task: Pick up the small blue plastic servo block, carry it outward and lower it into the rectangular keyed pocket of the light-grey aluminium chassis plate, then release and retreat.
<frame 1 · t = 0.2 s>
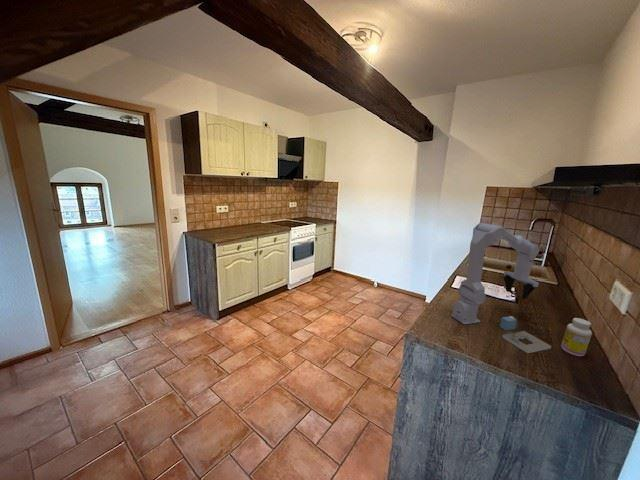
hand: (516, 294, 121), 10 cm above the countertop, fingers open, 7 cm apart
servo block: (507, 327, 111), on the countertop
chassis plate: (525, 342, 101), on the countertop
supplement bottle: (572, 351, 97), on the countertop
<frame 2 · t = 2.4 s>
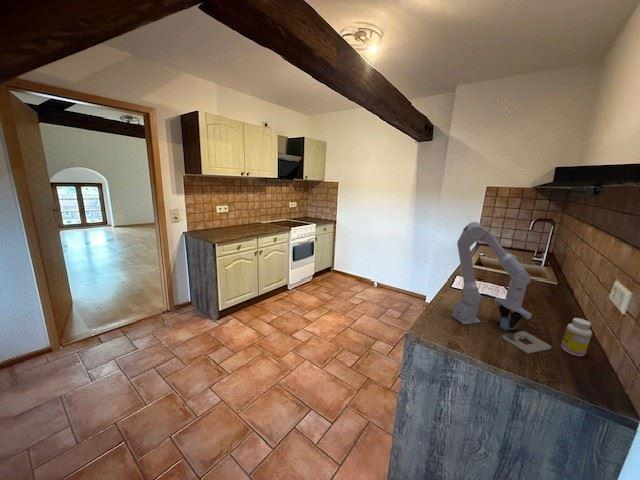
hand: (507, 324, 111), 1 cm above the countertop, fingers closed on servo block, 3 cm apart
servo block: (507, 327, 111), on the countertop, touching gripper
everything else where it was.
when the fingers open (3 cm above the countertop, at t = 5.3 s): servo block stays where it is, resting in chassis plate.
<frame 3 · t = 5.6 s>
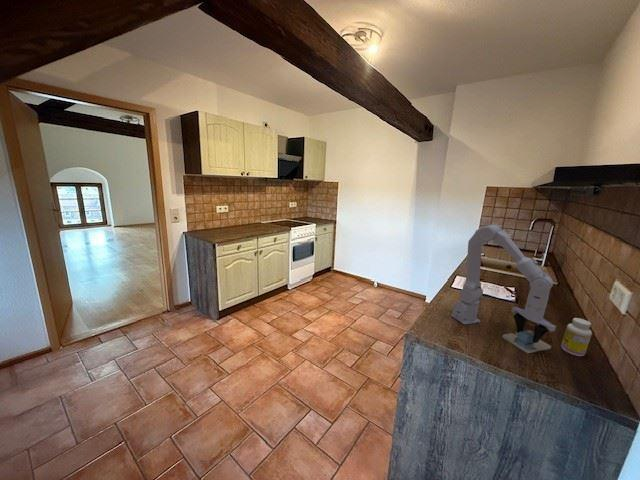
hand: (527, 337, 100), 3 cm above the countertop, fingers open, 5 cm apart
servo block: (525, 343, 101), resting in chassis plate
everything else where it was.
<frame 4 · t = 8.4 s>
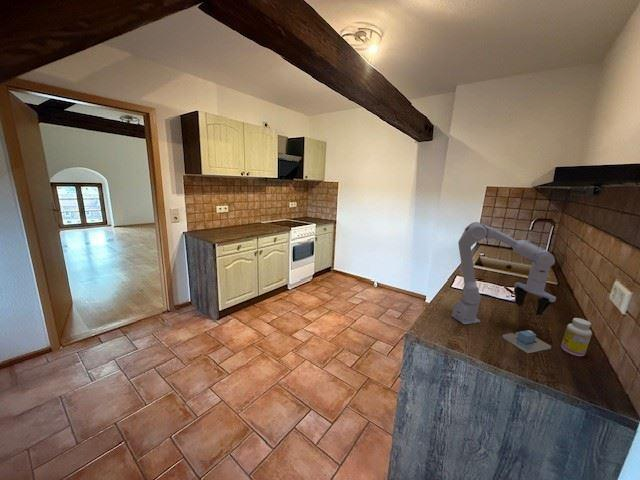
hand: (529, 309, 106), 10 cm above the countertop, fingers open, 7 cm apart
nothing on the countertop moved.
at the end: servo block 0.3 cm off-centre on the chassis plate, point 0.0 cm above the chassis plate's base; servo block tilted 0°; the gripper is holding nothing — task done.
